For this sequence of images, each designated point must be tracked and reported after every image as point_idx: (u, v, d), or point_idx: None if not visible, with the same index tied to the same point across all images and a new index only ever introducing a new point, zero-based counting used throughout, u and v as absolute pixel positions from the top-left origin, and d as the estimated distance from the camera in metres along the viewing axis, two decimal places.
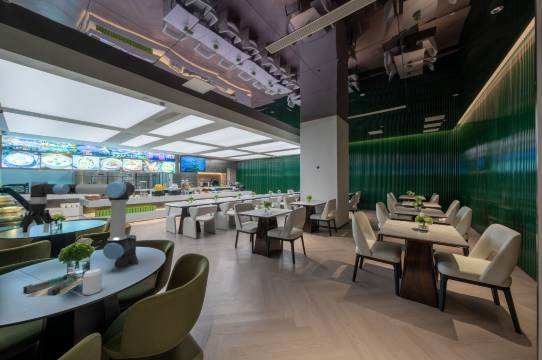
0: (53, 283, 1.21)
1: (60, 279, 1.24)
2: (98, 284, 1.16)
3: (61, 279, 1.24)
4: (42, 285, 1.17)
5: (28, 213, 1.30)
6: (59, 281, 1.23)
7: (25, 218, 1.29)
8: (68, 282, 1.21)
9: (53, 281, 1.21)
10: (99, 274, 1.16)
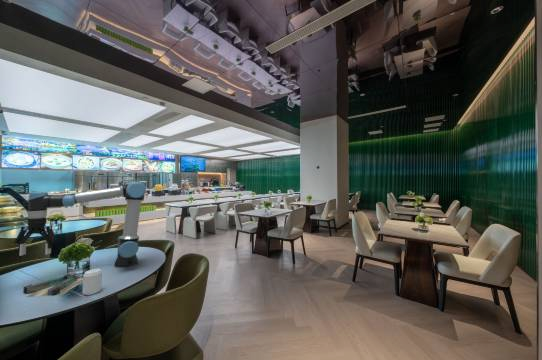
0: (53, 283, 1.21)
1: (60, 279, 1.24)
2: (98, 284, 1.16)
3: (61, 279, 1.24)
4: (42, 285, 1.17)
5: None
6: (59, 281, 1.23)
7: None
8: (68, 282, 1.21)
9: (53, 281, 1.21)
10: (99, 274, 1.16)
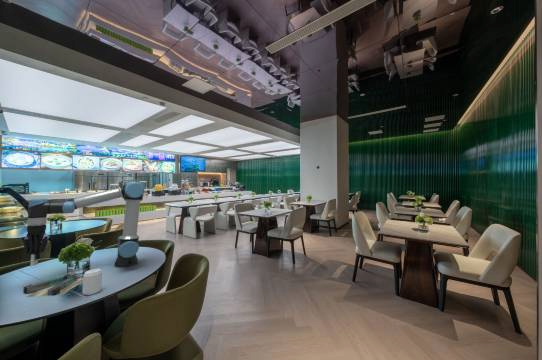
0: (53, 283, 1.21)
1: (60, 279, 1.24)
2: (98, 284, 1.16)
3: (61, 279, 1.24)
4: (42, 285, 1.17)
5: None
6: (59, 281, 1.23)
7: None
8: (68, 282, 1.21)
9: (53, 281, 1.21)
10: (99, 274, 1.16)
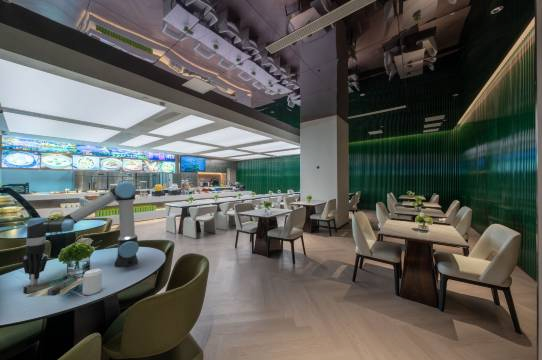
0: (53, 283, 1.21)
1: (60, 279, 1.24)
2: (98, 284, 1.16)
3: (61, 279, 1.24)
4: (42, 285, 1.17)
5: None
6: (59, 281, 1.23)
7: None
8: (68, 282, 1.21)
9: (53, 281, 1.21)
10: (99, 274, 1.16)
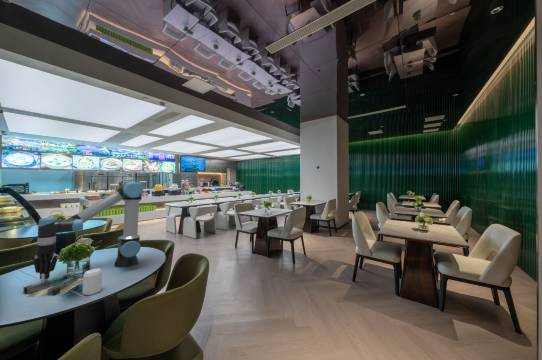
0: (54, 283, 1.21)
1: (60, 279, 1.23)
2: (98, 284, 1.16)
3: (61, 279, 1.24)
4: (43, 286, 1.17)
5: None
6: (59, 281, 1.23)
7: None
8: (68, 282, 1.21)
9: (53, 281, 1.21)
10: (99, 274, 1.16)
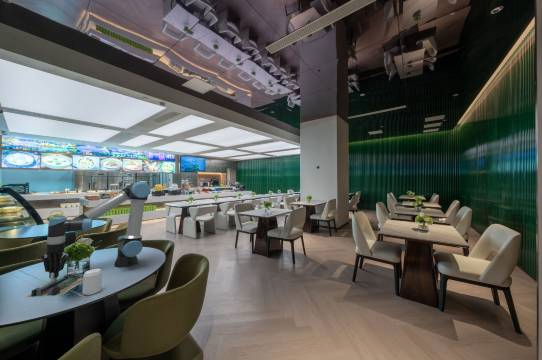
0: None
1: (63, 279, 1.23)
2: (98, 284, 1.16)
3: (64, 279, 1.24)
4: (51, 287, 1.16)
5: None
6: None
7: None
8: (68, 282, 1.21)
9: (58, 282, 1.20)
10: (99, 274, 1.16)
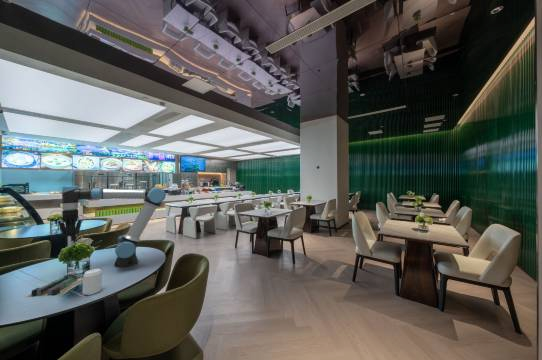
0: None
1: (63, 279, 1.23)
2: (98, 284, 1.16)
3: (64, 279, 1.24)
4: (51, 287, 1.16)
5: None
6: None
7: None
8: (68, 282, 1.21)
9: (59, 282, 1.20)
10: (99, 274, 1.16)
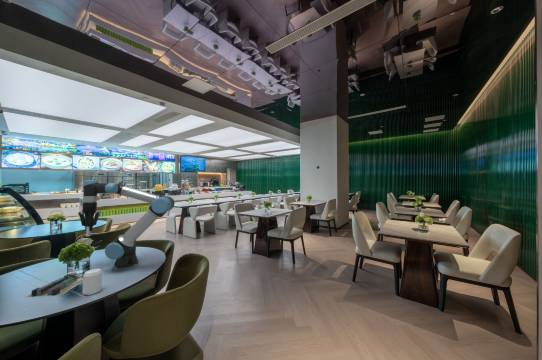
0: None
1: (63, 279, 1.23)
2: (98, 284, 1.16)
3: (64, 279, 1.24)
4: (51, 287, 1.16)
5: None
6: None
7: None
8: (68, 282, 1.21)
9: (59, 282, 1.20)
10: (99, 274, 1.16)
